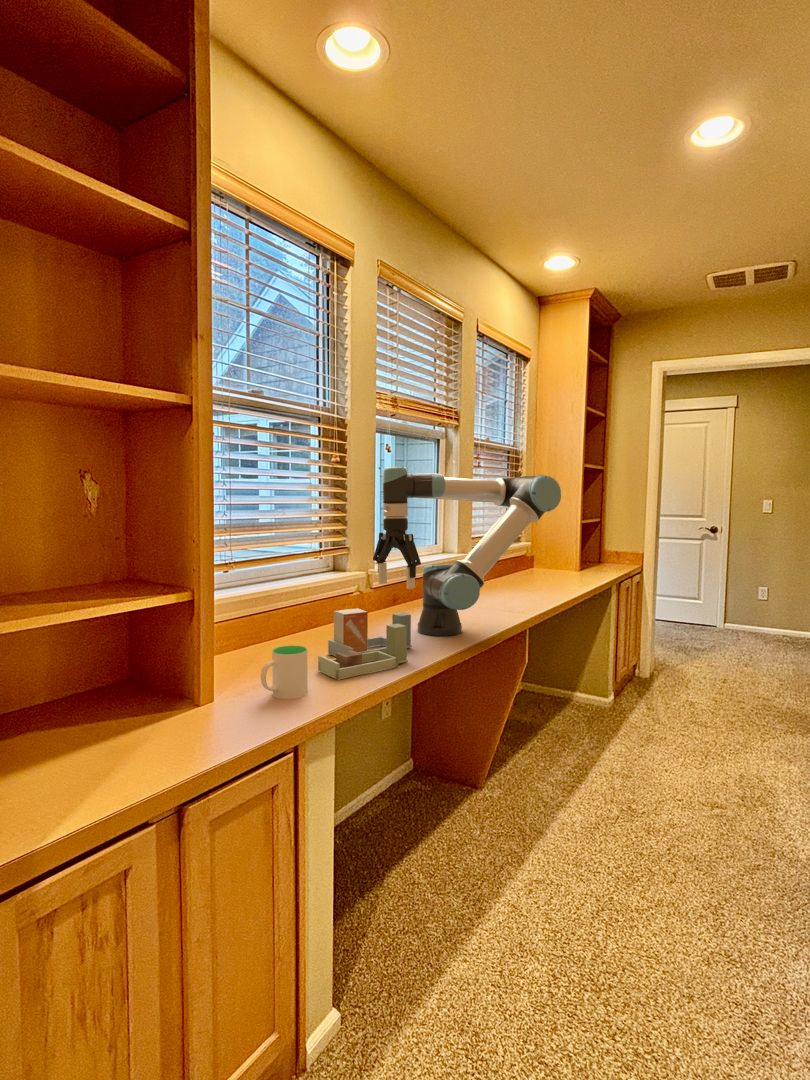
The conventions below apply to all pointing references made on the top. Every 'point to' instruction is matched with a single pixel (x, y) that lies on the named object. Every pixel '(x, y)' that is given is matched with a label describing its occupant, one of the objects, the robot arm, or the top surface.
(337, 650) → the tray
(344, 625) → the small box
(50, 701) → the top surface
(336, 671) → the tray
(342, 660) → the walnut block
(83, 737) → the top surface
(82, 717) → the top surface
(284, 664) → the mug
